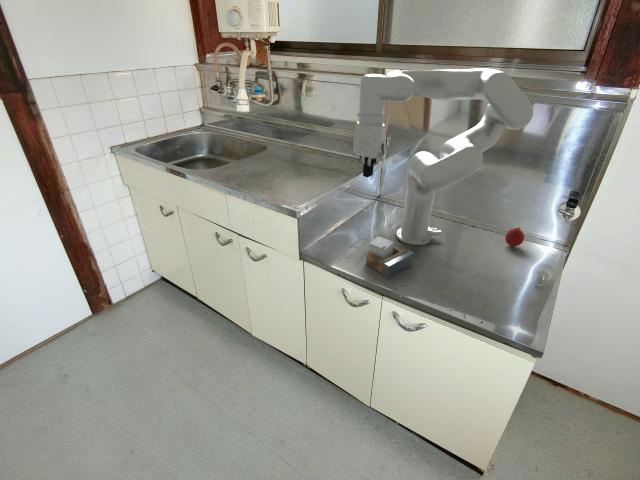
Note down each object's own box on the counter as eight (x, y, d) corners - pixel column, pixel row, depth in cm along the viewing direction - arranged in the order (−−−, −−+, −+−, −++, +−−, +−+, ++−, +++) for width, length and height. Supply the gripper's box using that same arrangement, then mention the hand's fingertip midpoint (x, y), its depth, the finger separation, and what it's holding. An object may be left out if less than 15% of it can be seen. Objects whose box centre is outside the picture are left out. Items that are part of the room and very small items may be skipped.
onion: (516, 252, 125) (523, 232, 120) (499, 246, 128) (505, 226, 124) (523, 247, 128) (530, 227, 124) (507, 240, 132) (513, 221, 127)
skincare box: (376, 254, 124) (377, 235, 120) (392, 260, 120) (394, 241, 117) (367, 262, 119) (368, 243, 116) (383, 268, 116) (385, 249, 112)
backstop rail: (382, 276, 112) (384, 263, 110) (407, 263, 119) (409, 250, 116) (387, 279, 111) (389, 266, 108) (412, 265, 118) (414, 252, 115)
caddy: (365, 263, 118) (367, 250, 116) (387, 252, 124) (388, 240, 121) (384, 275, 113) (386, 261, 110) (406, 263, 118) (408, 250, 116)
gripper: (345, 117, 113) (343, 173, 122) (383, 124, 103) (378, 184, 113) (360, 113, 117) (358, 167, 126) (398, 120, 108) (393, 178, 117)
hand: (367, 175), depth 120 cm, fingers closed
